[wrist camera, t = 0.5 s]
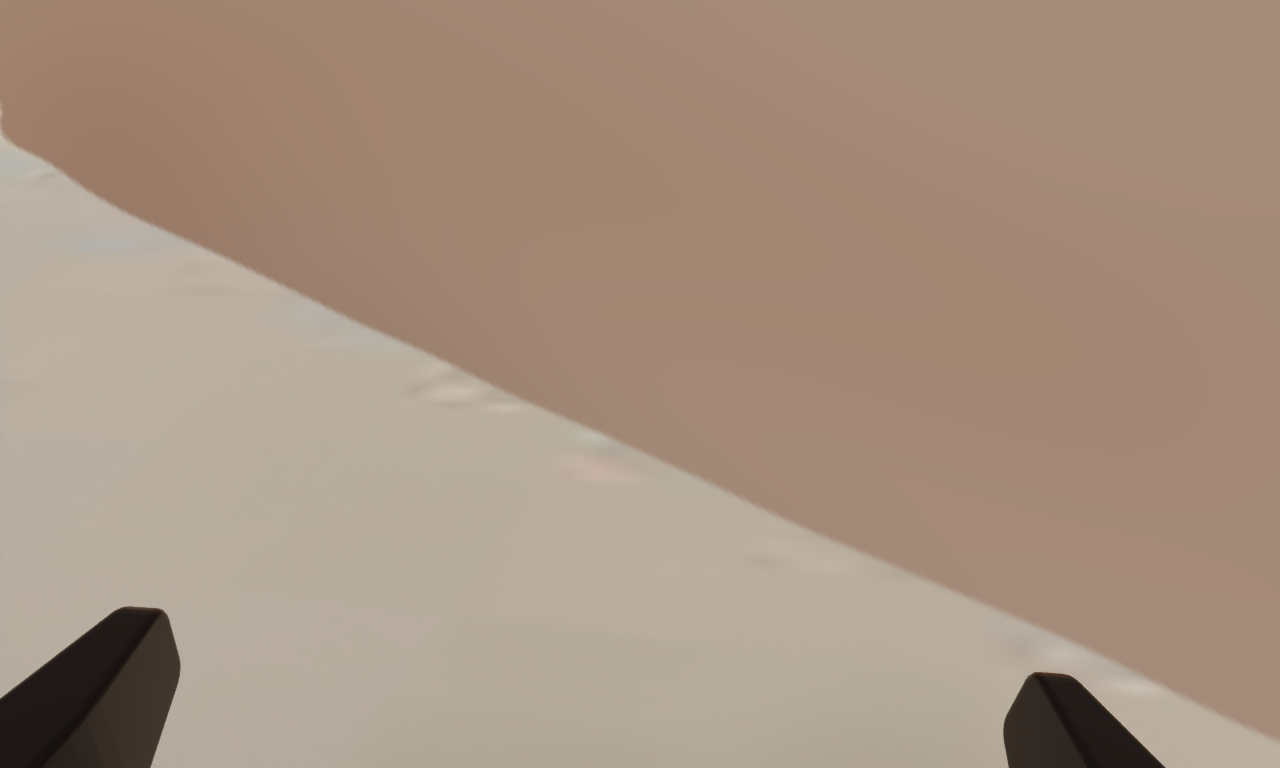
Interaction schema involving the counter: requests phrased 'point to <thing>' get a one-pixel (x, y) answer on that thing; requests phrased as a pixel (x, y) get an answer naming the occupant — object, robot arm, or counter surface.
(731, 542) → the counter surface
